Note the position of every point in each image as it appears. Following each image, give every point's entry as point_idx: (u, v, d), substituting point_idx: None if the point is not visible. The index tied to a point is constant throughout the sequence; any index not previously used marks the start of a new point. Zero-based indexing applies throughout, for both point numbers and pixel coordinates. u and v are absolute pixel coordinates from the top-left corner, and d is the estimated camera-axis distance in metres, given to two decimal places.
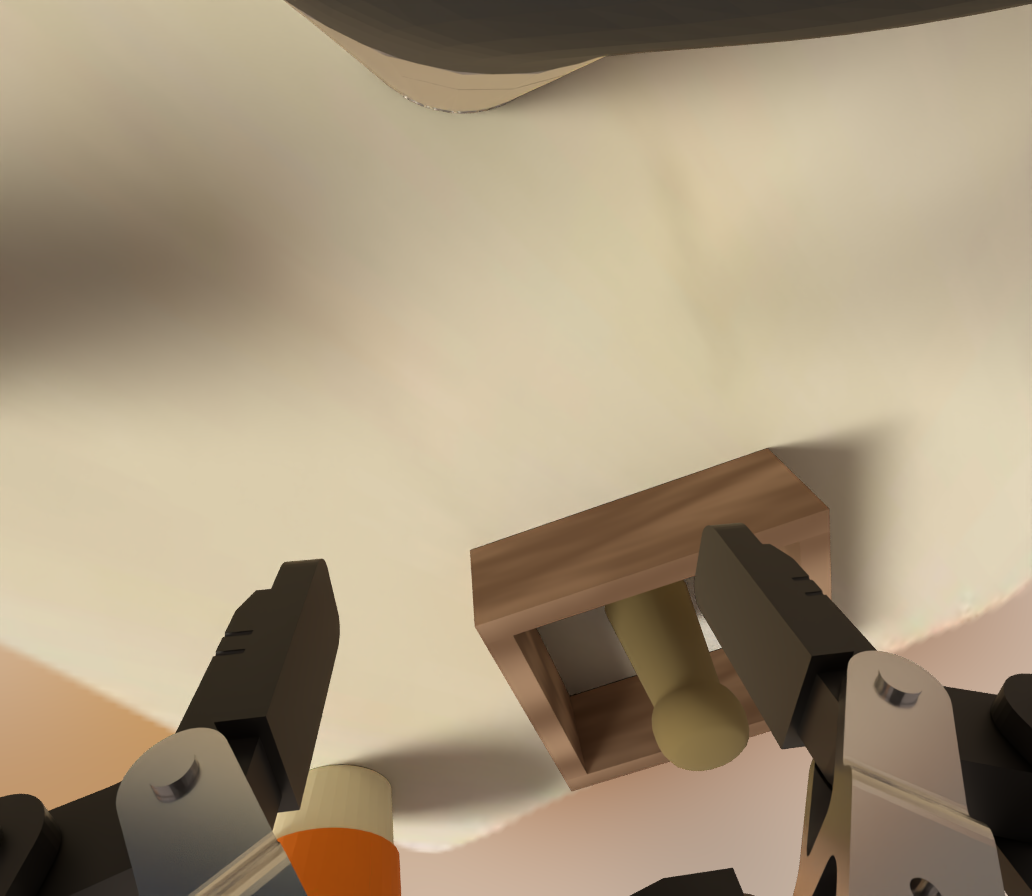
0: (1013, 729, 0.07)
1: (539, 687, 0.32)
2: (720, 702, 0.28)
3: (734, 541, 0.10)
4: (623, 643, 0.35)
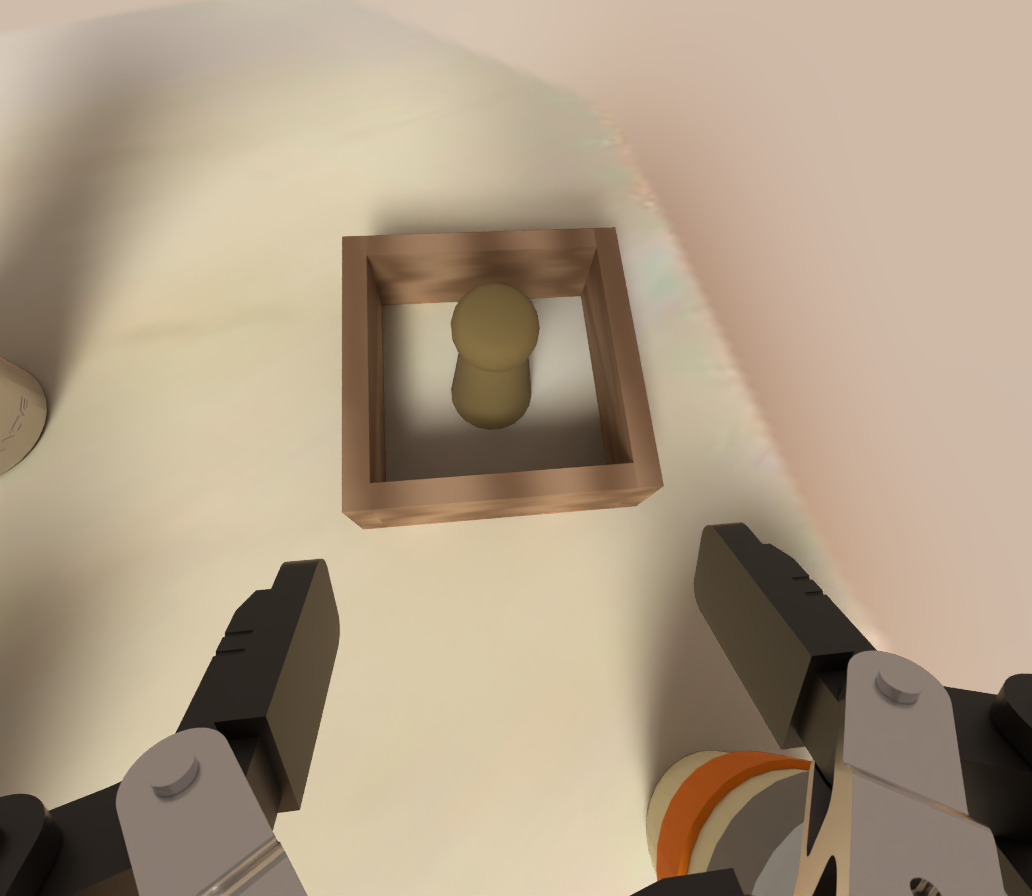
0: (1013, 729, 0.07)
1: (455, 477, 0.32)
2: None
3: (734, 541, 0.10)
4: (486, 406, 0.36)
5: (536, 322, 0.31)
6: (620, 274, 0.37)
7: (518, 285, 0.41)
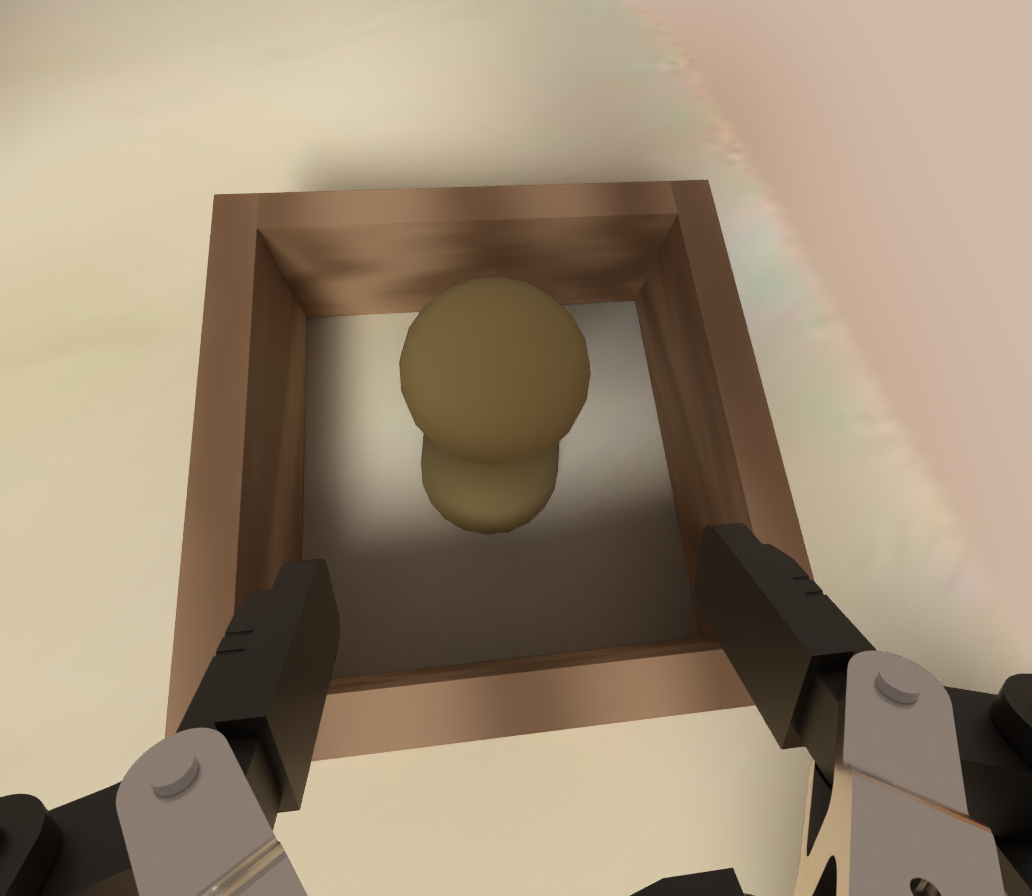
0: (1013, 729, 0.07)
1: (414, 687, 0.15)
2: None
3: (734, 541, 0.10)
4: (480, 507, 0.20)
5: (586, 362, 0.14)
6: (723, 262, 0.20)
7: (534, 283, 0.24)
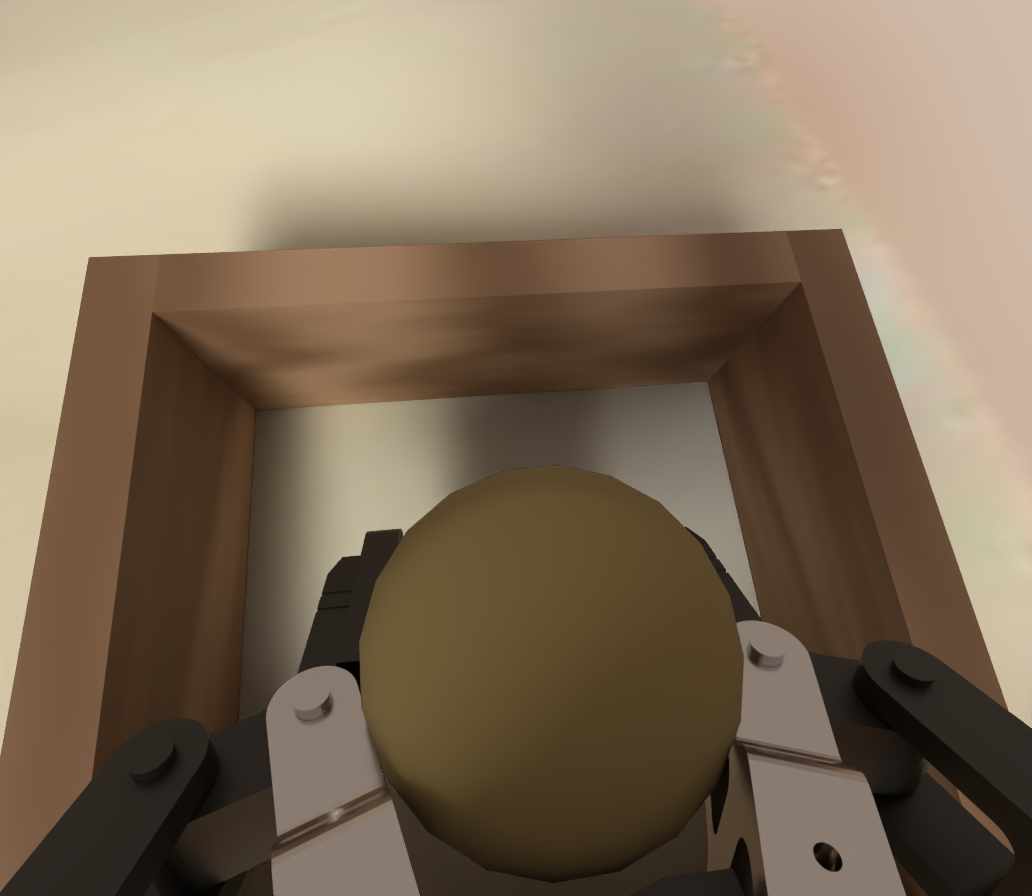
0: (876, 700, 0.07)
1: None
2: (387, 563, 0.07)
3: None
4: None
5: (742, 662, 0.07)
6: (877, 360, 0.13)
7: (574, 367, 0.17)
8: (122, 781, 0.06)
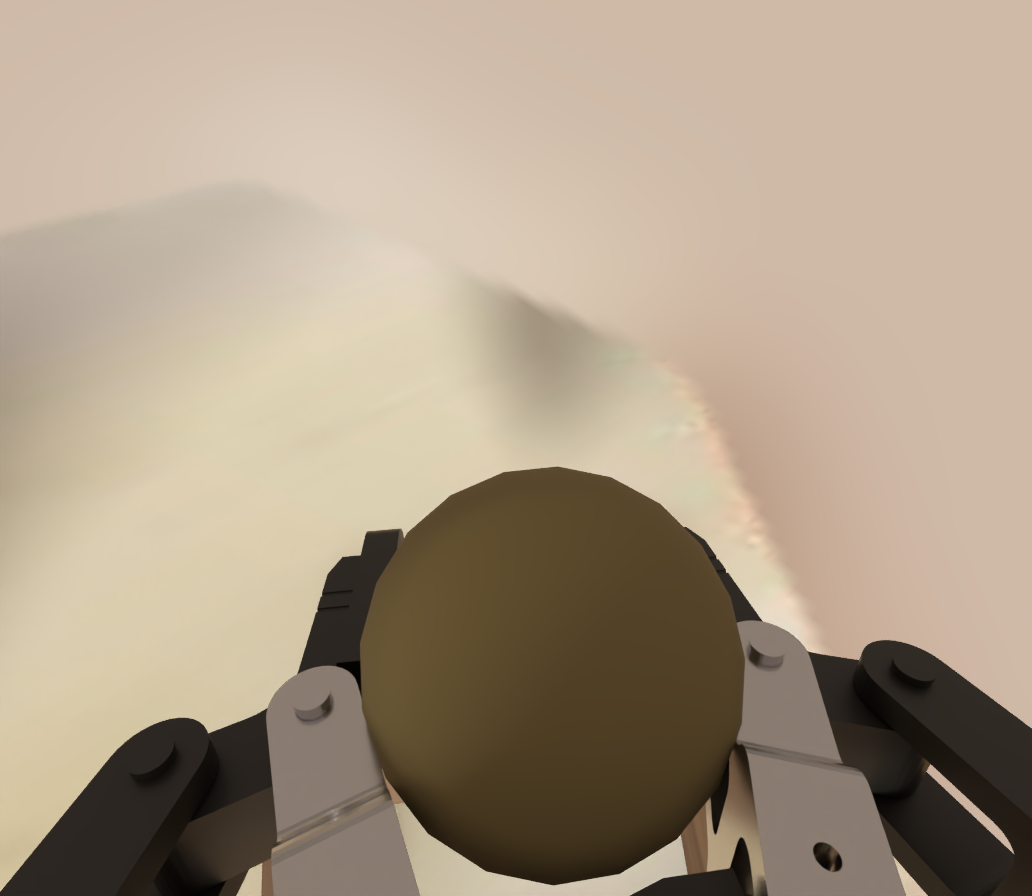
0: (876, 700, 0.07)
1: None
2: (387, 565, 0.07)
3: None
4: None
5: (742, 664, 0.07)
6: None
7: None
8: (122, 781, 0.06)
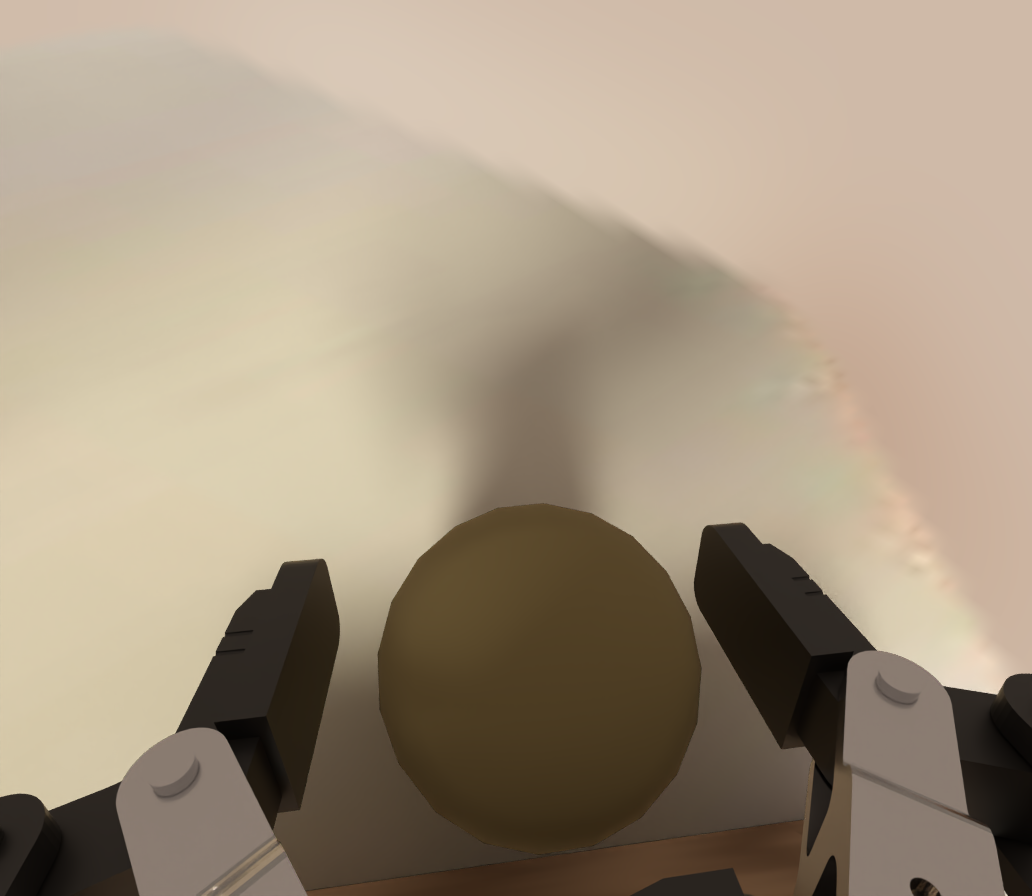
0: (1013, 729, 0.07)
1: None
2: (401, 587, 0.09)
3: (734, 541, 0.10)
4: None
5: (698, 673, 0.08)
6: None
7: None
8: None
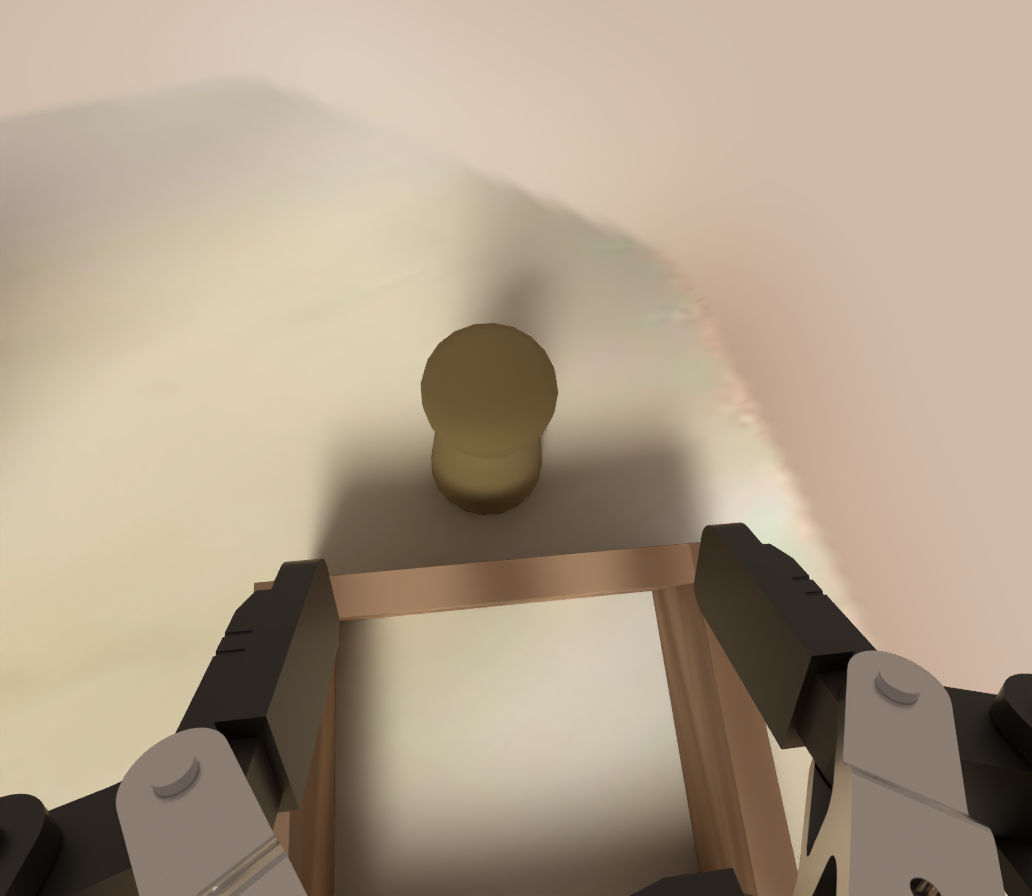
0: (1013, 729, 0.07)
1: None
2: None
3: (734, 541, 0.10)
4: (478, 492, 0.25)
5: (553, 385, 0.20)
6: None
7: None
8: None
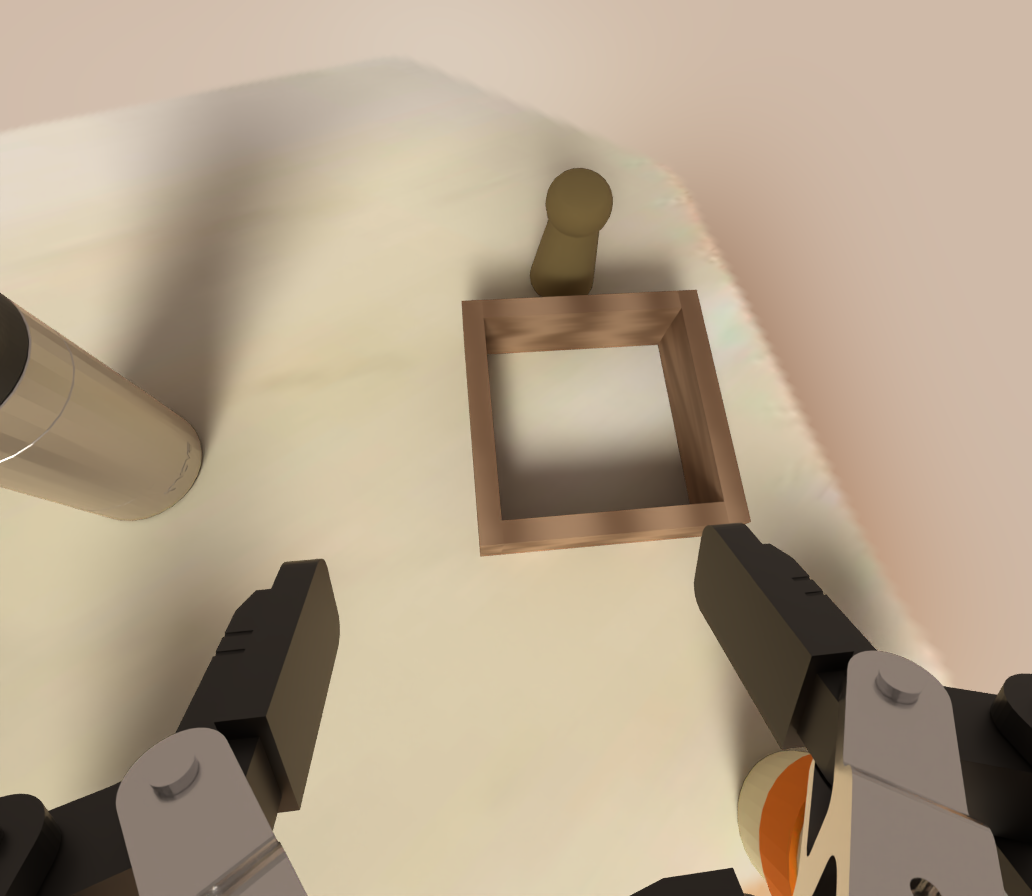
0: (1013, 729, 0.07)
1: (574, 515, 0.37)
2: (550, 186, 0.41)
3: (734, 541, 0.10)
4: (563, 278, 0.46)
5: (611, 196, 0.41)
6: (703, 332, 0.42)
7: (605, 337, 0.46)
8: None
